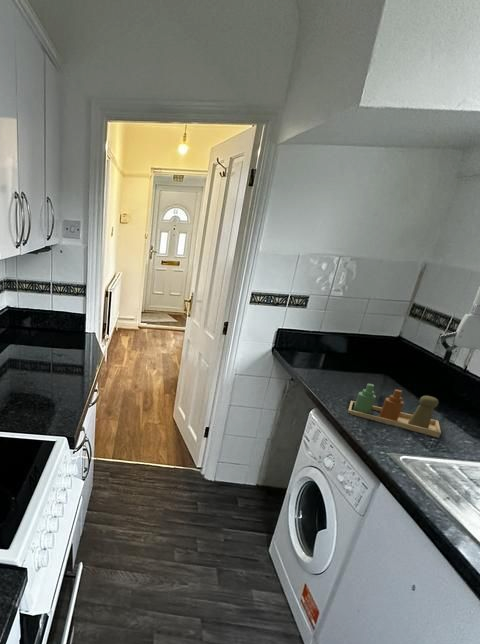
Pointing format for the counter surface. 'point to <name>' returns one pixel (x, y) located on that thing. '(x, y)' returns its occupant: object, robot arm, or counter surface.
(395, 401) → the amber bottle
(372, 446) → the counter surface
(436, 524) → the counter surface
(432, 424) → the tray
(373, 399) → the green bottle
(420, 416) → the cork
